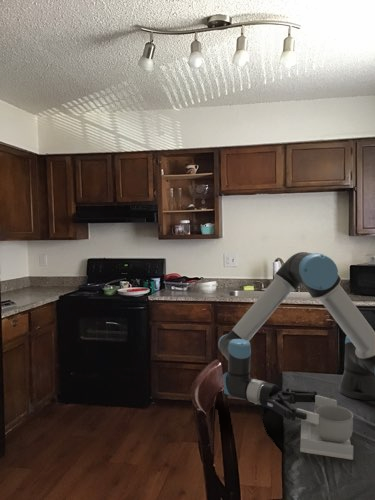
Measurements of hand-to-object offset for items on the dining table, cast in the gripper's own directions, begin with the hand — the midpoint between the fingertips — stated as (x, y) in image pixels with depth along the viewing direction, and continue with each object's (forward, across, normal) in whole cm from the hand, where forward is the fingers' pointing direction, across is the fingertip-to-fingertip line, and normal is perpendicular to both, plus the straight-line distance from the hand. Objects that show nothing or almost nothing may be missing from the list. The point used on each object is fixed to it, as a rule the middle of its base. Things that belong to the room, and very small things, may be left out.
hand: (327, 411), depth 126 cm
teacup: (0, -1, -8) cm, 8 cm away
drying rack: (-1, 0, -9) cm, 9 cm away
